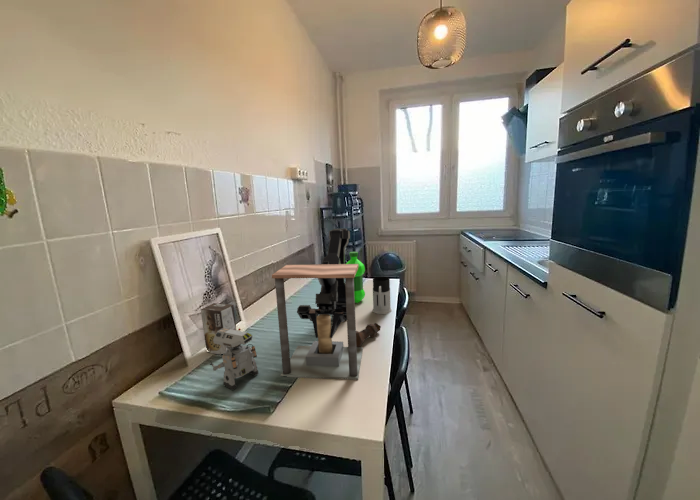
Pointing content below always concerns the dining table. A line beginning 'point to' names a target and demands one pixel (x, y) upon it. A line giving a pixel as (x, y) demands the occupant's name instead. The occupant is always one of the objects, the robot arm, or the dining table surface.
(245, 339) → the figurine
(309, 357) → the socket
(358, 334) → the bolt
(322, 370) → the post and lintel frame
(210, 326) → the coffee box
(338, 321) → the robot arm
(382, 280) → the glass holder
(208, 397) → the dining table surface
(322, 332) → the peg
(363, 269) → the plastic bottle
